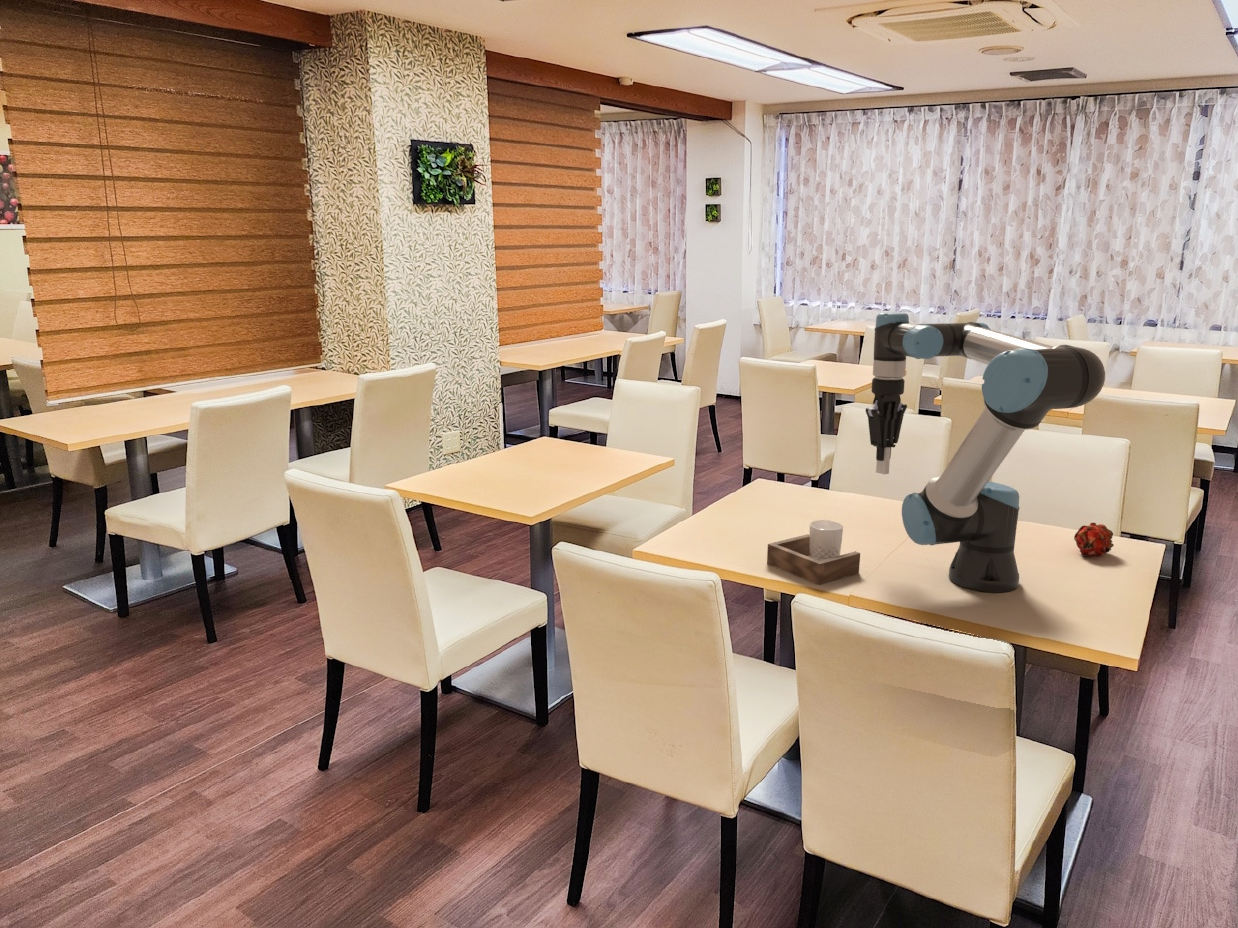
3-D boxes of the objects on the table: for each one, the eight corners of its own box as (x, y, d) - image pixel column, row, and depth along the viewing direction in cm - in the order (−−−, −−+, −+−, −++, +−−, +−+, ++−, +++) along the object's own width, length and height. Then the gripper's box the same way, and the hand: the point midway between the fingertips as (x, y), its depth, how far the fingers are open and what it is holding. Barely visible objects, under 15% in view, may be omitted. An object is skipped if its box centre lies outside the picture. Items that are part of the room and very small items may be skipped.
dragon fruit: (1100, 553, 238) (1087, 572, 230) (1073, 530, 241) (1059, 548, 232) (1125, 533, 233) (1112, 552, 224) (1097, 510, 235) (1083, 527, 227)
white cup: (838, 571, 220) (841, 531, 218) (805, 567, 223) (807, 527, 221) (842, 561, 228) (845, 522, 225) (810, 557, 230) (812, 518, 228)
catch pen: (858, 573, 219) (860, 553, 218) (818, 584, 212) (819, 564, 211) (806, 553, 233) (807, 534, 232) (766, 563, 226) (767, 543, 224)
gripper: (893, 373, 230) (887, 466, 235) (858, 378, 222) (852, 473, 228) (918, 377, 224) (911, 472, 229) (883, 381, 216) (877, 479, 222)
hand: (882, 472), depth 228 cm, fingers closed
